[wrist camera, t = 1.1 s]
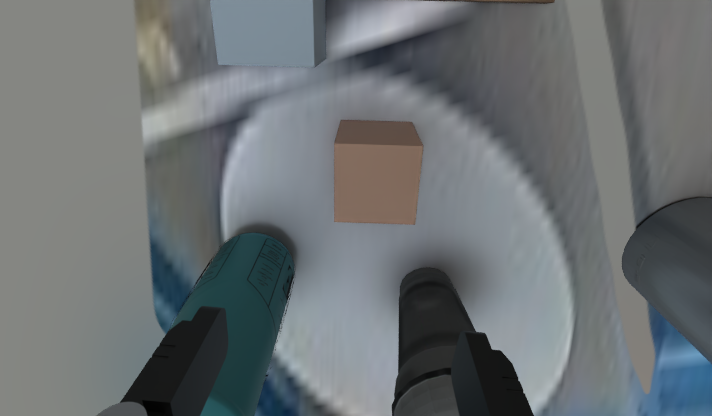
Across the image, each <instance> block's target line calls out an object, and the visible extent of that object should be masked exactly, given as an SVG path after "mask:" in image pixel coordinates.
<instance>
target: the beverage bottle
mask: <svg viewBox="0 0 712 416" xmlns="http://www.w3.org/2000/svg"><path fill="white" fill-rule="evenodd" d="M228 240H229V239H228ZM225 242H226V241H225ZM213 257H214V256H213ZM211 260H212V259H211ZM211 260H210V261H211ZM209 264H210V262H209V263H208V265H209ZM208 265H207V267H208ZM294 266H295V265H294V263H293V259H292V257H291V255H290V253H289V251H288V250H287V249H286V247H285V246H284V245H283V244H282V243H280V242H279V241H278V240H276V239H274V238H272V237H270V236H268V235H265V234H261V233H245V234H241V235H238V236H235V237H234V238H233V237H232V239H231V238H230V240H229V241H227V242H226V243H224V245H223V246H222V247H221V248H220V250H219V252H218V253H216V256H215V258H213V261H211V264H210V266H209V267H208V269H207V270H206V268H207V267H206V268H205V270H206V272H205V273H204V271H205V270H204V271H203V273H204V275H203V277H201V276H202V274H203V273H202V274H201V276H200V277H201V280H200V281H199V283H197V282H198V280H199V279H200V277H199V279H198V280H197V282H196V284H197V286H196V288H195V285H196V284H195V285H194V288H195V289H194V291H193V292H192V293H191V294H190V297H189V296H187V298H188V300H187V301H186V303H185V302H183V303H184V306H183V305H182V307H183V308H182V309H181V308H180V309H181V311H180V313H179V314H178V315H177V318H176V319H175V321H174V323H173V325H172V326H170V327H171V328H170V329H172V328H173V327H174V326H176V325H177V324H178V323H179V322H181V321H182V320H186V321H191V320H192V319H193V317H194V316H195V314H196V312H197V311H198V309H199V308H200V307H201V306H209V307H220V308H225V310H226V319H227V330H228V351H227V355H226V358H225V361H224V363H223V365H222V368H221V370H220V372H219V374H218V377H217V379H216V381H215V383H214V386H213V388H212V390H211V392H210V395H209V397H208V399H207V401H206V404H205V406H204V408H203V410H202V413H201V415H200V416H254V415H255V411H256V408H257V404H258V401H259V397H260V393H261V390H262V386H263V383H264V379H265V376H267V377H268V375H266V372H267V370H268V367H269V364H270V360H271V357H272V353H273V350H274V346H275V343H276V339H277V335H278V332H279V331H280V330H279V328H280V324H281V321H282V317H284V318H285V315H283V313H284V311H285V306H286V303H287V300H288V298H289V296H288V295H289V293H290V288H292V287H291V284H292V281H293V278H294V277H295V276H294V275H295V271H296V269H295V271H294ZM293 284H294V282H293ZM292 286H293V285H292ZM192 289H193V288H192ZM190 292H191V291H190ZM291 292H292V291H291ZM290 296H291V294H290ZM187 298H186V299H187ZM186 299H185V300H186ZM289 300H290V298H289ZM288 303H289V302H288ZM287 307H288V305H287ZM286 311H287V309H286ZM285 314H286V313H285ZM173 319H174V318H173ZM172 321H173V320H172ZM283 321H284V319H283ZM171 324H172V323H171ZM281 328H282V327H281ZM170 329H169V330H170ZM159 346H160V345H159ZM275 351H276V349H275ZM270 369H271V368H270ZM266 379H267V378H266Z"/></svg>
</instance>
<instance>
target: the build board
mask: <svg viewBox="0 0 712 416" xmlns="http://www.w3.org/2000/svg"><path fill="white" fill-rule="evenodd" d="M426 1H465V2H504V3H543V4H546V3H554V1H555V0H426Z"/></svg>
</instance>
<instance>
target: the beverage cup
mask: <svg viewBox="0 0 712 416" xmlns="http://www.w3.org/2000/svg"><path fill="white" fill-rule="evenodd" d="M461 331H470V332H476V331H475V329H474V327H473V325H472V322H471V320H470V318H469V316H468V314H467V312H466V310H465V308H464V306H463V304H462V302H461V300H460V298H459V296H458V293H457V291H456V289H455V288H454V287H453V285H452V283H451V282H450V279H449V278H448V276H447V275H446V274H445V273H443V272H441V271H440V270H438V269H433V268H421V269H417V270H414V271H412V272H411V273H409V274H408V275H407V276H406V277H405V278H404V279H403V280H402V283H401V286H400V297H399V360H398V376H397V379H396V386H395V393H394V396H395V399H394V402H393V404H392V416H459V412H458V407H457V403H456V398H455V394H454V389H453V385H452V379H451V365H452V360H453V357H454V353H455V349H456V346H457V342H458V338H459V335H460V332H461Z"/></svg>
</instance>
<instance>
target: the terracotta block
mask: <svg viewBox="0 0 712 416" xmlns="http://www.w3.org/2000/svg"><path fill="white" fill-rule="evenodd" d="M422 154H423V144H422V142H421V140H420V138H419V136H418V134H417V132H416V130H415V128H414V126H413V124H412V122H394V121H361V120H341V121H340V125H339V128H338V132H337V136H336V139H335V143H334V222H351V223H381V224H411V225H415V220H416V211H417V201H418V192H419V182H420V173H421V163H422Z"/></svg>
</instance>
